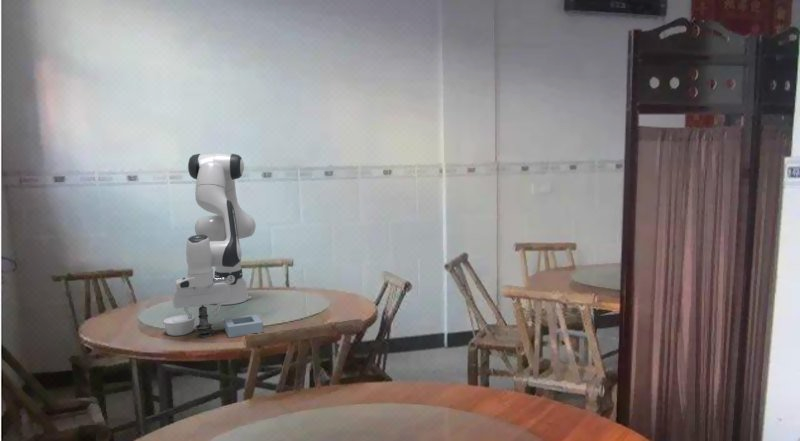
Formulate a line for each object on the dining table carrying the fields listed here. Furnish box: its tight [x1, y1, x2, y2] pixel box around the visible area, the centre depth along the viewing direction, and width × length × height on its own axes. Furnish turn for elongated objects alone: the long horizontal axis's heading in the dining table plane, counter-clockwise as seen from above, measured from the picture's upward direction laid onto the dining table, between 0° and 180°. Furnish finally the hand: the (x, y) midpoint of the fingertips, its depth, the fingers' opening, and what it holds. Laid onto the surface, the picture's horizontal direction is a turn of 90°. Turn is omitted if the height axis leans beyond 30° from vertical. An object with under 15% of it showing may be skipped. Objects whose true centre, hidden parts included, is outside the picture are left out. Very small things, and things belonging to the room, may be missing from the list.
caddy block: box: [223, 313, 264, 339], centre depth 235 cm, size 12×12×4 cm
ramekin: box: [163, 314, 196, 337], centre depth 236 cm, size 11×11×5 cm
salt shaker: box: [195, 305, 213, 339], centre depth 230 cm, size 6×6×12 cm
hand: (203, 316), depth 230 cm, fingers open, 8 cm apart
